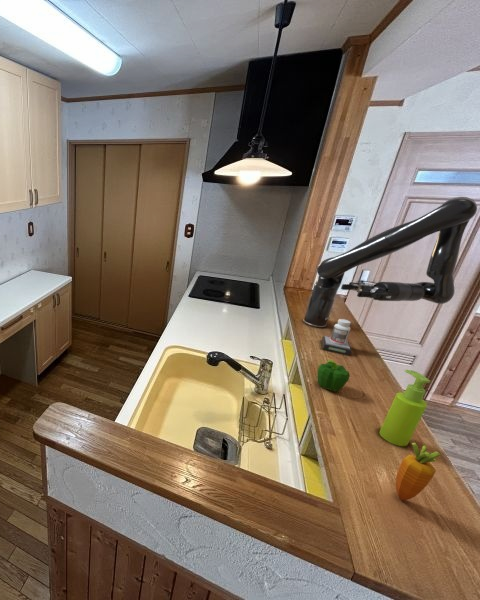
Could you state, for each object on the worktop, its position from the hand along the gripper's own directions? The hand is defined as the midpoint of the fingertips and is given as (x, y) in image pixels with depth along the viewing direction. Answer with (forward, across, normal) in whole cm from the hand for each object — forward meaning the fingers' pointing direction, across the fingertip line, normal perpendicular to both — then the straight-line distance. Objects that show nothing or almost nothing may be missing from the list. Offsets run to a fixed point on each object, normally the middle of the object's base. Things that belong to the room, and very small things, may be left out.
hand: (350, 290), depth 127 cm
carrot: (+33, +70, +26) cm, 82 cm away
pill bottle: (-2, 0, +23) cm, 23 cm away
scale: (-2, 0, +26) cm, 26 cm away
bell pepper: (+20, +28, +26) cm, 43 cm away
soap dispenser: (+18, +51, +26) cm, 60 cm away
